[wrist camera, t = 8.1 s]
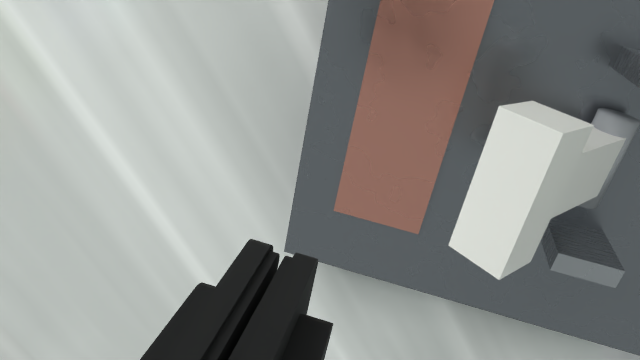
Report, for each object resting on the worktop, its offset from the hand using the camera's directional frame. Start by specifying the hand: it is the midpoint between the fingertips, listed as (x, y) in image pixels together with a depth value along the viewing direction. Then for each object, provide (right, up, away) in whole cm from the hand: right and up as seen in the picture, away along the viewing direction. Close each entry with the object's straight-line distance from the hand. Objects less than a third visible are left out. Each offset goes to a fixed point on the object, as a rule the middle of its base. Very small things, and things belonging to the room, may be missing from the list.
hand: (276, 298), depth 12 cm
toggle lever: (+15, +4, +12) cm, 20 cm away
